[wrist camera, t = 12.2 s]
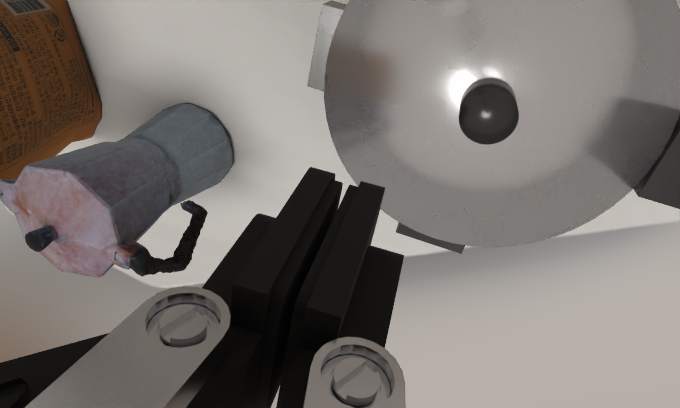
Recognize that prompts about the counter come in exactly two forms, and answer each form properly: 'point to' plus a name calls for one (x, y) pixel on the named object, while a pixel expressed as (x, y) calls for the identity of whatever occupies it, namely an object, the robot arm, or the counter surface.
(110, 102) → the counter surface
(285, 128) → the counter surface
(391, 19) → the lid
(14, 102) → the pancake mix bag
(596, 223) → the counter surface
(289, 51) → the counter surface
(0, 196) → the moka pot
